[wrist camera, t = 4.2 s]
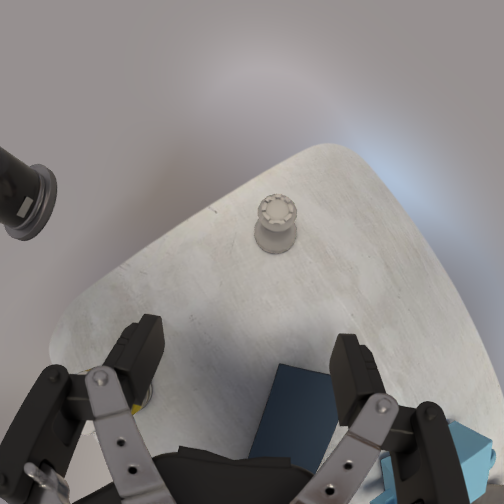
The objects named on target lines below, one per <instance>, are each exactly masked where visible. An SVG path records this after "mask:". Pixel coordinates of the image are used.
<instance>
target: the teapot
mask: <svg viewBox="0 0 504 504" xmlns="http://www.w3.org/2000/svg"><path fill="white" fill-rule="evenodd" d="M448 426H449V429H450V432H451V435H452V438H453V441H454V444H455V447H456V451H457V454H458V457H459V461H460V464H461V468H462V471H463V475H464V479H465V483H466V487H467V491H468V496H469V500H470V504H471V503H472V502H473V501H475V500H476V499H477V498H479V497H480V496H481V495H483V494H484V493H485V491H486V486H487V481H488V475H489V470H490V469H491V468H492V466H493V465H494V463H495V460H496V453H495V451H494V450H493V449H492V440H491V439H489V438H487V437H485V436H483V435H481V434H479V433H477V432H475V431H473V430H471V429H470V428H468V427H466V426H464V425H462V424H460V423H458V422H456V421H454V422H452V423H451V424H449V425H448ZM381 464H382V471H383V478H384V486H385V492H383V493H382V494H381V495H379V496H378V497H376V498H375V499H373V500H372V501H371V502H370V504H397V497H396V489H395V482H394V475H393V469H392V463H391V457H390V456H389V457H387V458H384V459H382V460H381Z"/></svg>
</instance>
